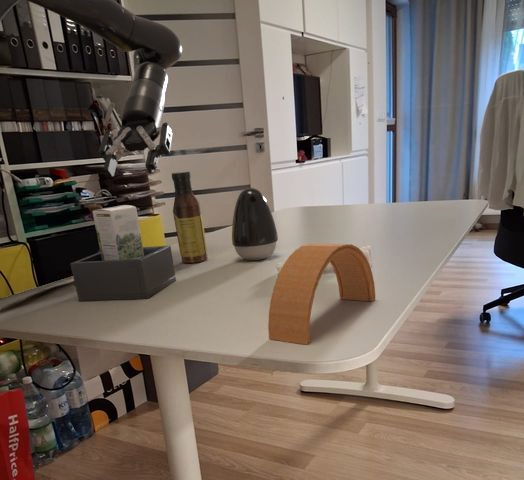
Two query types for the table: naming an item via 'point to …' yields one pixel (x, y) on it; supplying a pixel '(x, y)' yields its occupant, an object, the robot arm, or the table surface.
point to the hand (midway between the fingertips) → (129, 171)
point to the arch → (315, 286)
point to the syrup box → (118, 233)
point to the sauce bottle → (188, 220)
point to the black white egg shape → (253, 226)
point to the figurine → (365, 250)
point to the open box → (124, 275)
